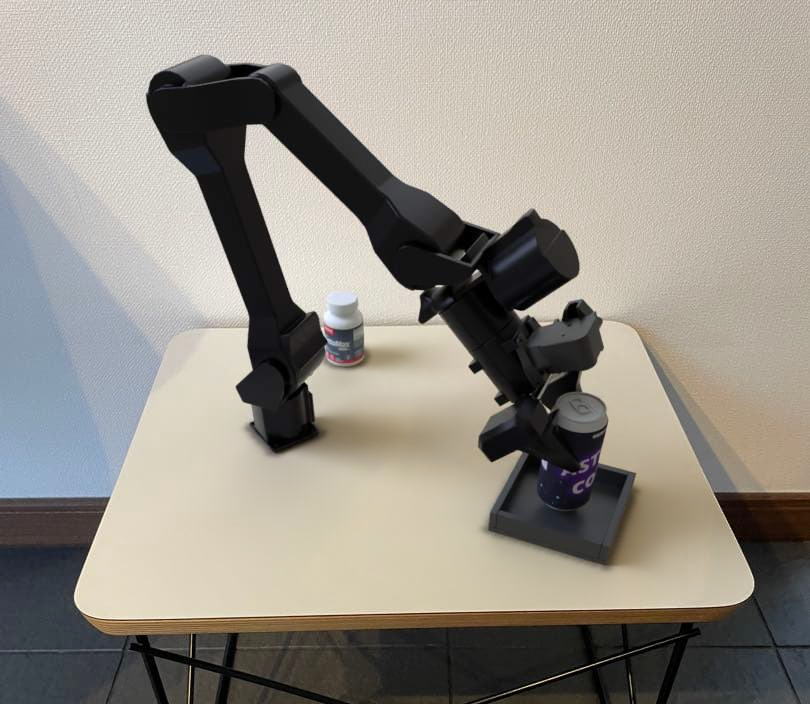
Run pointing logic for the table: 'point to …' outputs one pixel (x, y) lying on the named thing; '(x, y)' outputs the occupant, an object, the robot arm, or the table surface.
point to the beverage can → (575, 451)
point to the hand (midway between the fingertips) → (584, 453)
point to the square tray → (563, 512)
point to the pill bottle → (344, 329)
